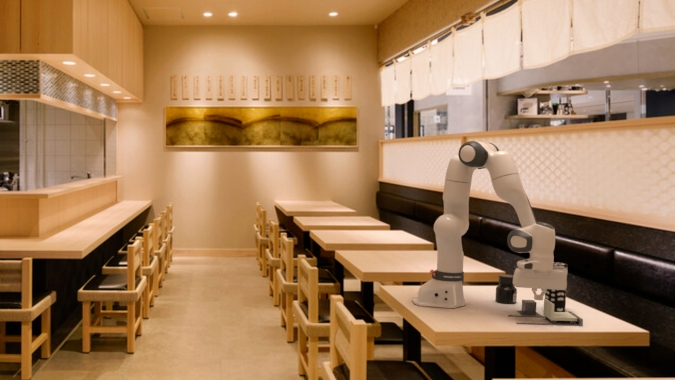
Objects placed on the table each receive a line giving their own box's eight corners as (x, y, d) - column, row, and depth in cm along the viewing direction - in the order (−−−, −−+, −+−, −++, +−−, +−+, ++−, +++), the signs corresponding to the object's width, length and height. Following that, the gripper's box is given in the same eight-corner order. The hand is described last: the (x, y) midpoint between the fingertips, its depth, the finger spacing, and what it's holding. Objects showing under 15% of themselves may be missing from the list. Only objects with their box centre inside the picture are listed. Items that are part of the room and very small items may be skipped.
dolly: (550, 324, 246) (551, 304, 245) (543, 318, 255) (544, 299, 254) (577, 325, 246) (578, 305, 245) (568, 319, 255) (569, 299, 254)
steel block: (524, 314, 260) (525, 302, 260) (521, 311, 264) (522, 299, 264) (535, 314, 260) (536, 302, 260) (532, 312, 264) (533, 300, 264)
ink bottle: (519, 305, 278) (521, 278, 277) (499, 305, 277) (501, 277, 276) (511, 300, 287) (512, 273, 287) (492, 300, 286) (493, 273, 286)
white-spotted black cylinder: (562, 314, 264) (565, 266, 263) (541, 311, 268) (544, 263, 267) (567, 310, 271) (569, 263, 270) (546, 307, 275) (549, 261, 274)
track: (516, 325, 244) (517, 317, 244) (507, 316, 256) (508, 309, 256) (582, 327, 244) (583, 319, 244) (570, 318, 256) (570, 311, 256)
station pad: (521, 316, 258) (521, 315, 258) (516, 311, 266) (516, 310, 266) (541, 316, 258) (541, 315, 258) (535, 312, 266) (535, 311, 266)
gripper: (565, 264, 252) (562, 299, 253) (513, 261, 252) (510, 296, 253) (570, 267, 246) (567, 303, 247) (517, 264, 246) (514, 300, 247)
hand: (538, 299), depth 250 cm, fingers closed
